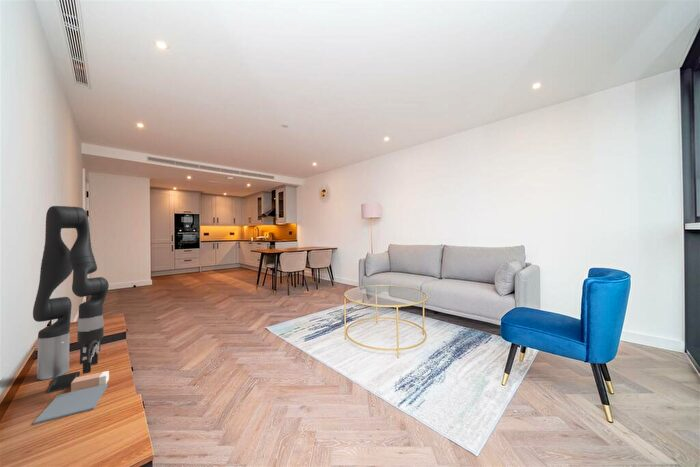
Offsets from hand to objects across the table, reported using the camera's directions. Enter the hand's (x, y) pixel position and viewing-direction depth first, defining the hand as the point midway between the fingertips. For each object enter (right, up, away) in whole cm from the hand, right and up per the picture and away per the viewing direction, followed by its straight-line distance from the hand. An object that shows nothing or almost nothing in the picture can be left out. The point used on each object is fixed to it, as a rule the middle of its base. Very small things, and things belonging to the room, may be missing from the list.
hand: (90, 368), depth 105 cm
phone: (-13, -8, +3) cm, 16 cm away
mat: (+6, -6, -11) cm, 14 cm away
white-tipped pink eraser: (0, -7, 0) cm, 7 cm away
